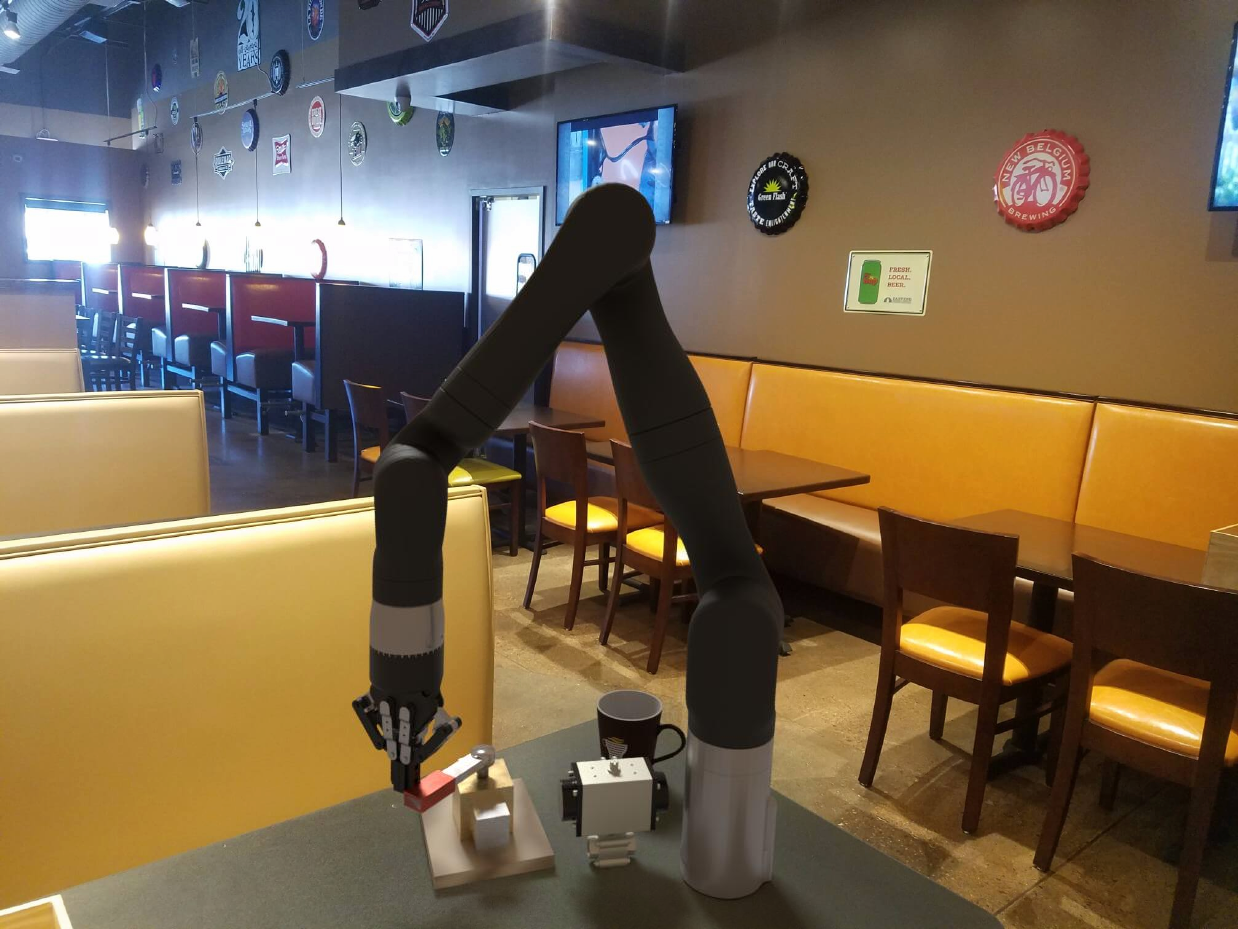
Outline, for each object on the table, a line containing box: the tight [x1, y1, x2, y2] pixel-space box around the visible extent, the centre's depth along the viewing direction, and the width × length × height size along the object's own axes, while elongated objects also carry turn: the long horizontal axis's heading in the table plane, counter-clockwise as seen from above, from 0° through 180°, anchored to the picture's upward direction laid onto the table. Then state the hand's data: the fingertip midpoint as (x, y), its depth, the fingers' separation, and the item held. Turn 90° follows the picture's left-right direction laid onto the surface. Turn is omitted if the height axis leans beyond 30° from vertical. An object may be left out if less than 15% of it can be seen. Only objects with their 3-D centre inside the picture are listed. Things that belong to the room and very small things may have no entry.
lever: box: [403, 744, 496, 813], centre depth 95 cm, size 12×3×2 cm, turn 149°
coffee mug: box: [596, 689, 687, 768], centre depth 112 cm, size 12×9×10 cm
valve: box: [452, 757, 514, 858], centre depth 100 cm, size 6×13×7 cm, turn 19°
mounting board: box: [418, 777, 555, 890], centre depth 101 cm, size 13×16×2 cm
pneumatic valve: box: [557, 756, 670, 869], centre depth 97 cm, size 6×12×12 cm, turn 101°
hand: (405, 789), depth 93 cm, fingers closed
